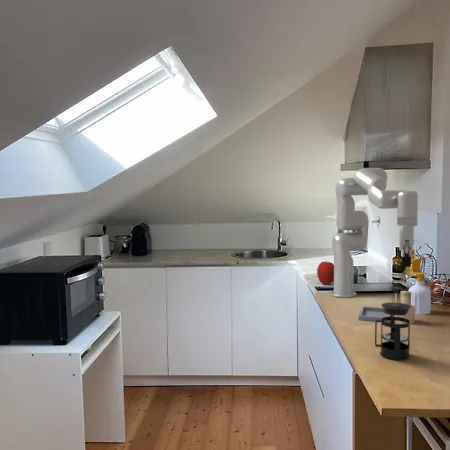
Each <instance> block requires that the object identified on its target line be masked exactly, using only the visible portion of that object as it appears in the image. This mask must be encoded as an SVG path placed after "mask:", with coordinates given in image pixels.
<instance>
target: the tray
mask: <svg viewBox="0 0 450 450" xmlns="http://www.w3.org/2000/svg"><path fill="white" fill-rule="evenodd" d="M390 316H391V315H389V314H386V313H384V312H383V307H374V306H364V305H363V306H361V308H360V311H359V314H358V319H357V321H363V322H364V321H365V322H374V323H375V320H381V319H382V318H383V317H390ZM384 322H387V323H390V322H391V320H388V321H384Z"/></svg>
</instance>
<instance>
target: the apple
mask: <svg viewBox="0 0 450 450" xmlns="http://www.w3.org/2000/svg"><path fill="white" fill-rule="evenodd" d="M316 273H317V275H316V276H317V278H318V281H319V283H321V284H322V285H331V284H332V283H334V262H330V261H327V259H326V260H325V261H321V262H320V263H319V264H318V266H317V268H316Z"/></svg>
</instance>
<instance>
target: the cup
mask: <svg viewBox="0 0 450 450" xmlns="http://www.w3.org/2000/svg"><path fill="white" fill-rule="evenodd" d="M415 315H416V314H415V306H413V305H411V308H410V309H409V310H408V312H407V314H406V315H396V317H402V318H406V319H408V320H410V325H413V324H415V321H416V319H415V317H416V316H415ZM396 323H397V324H406V322H402V321H396Z"/></svg>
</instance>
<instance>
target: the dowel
mask: <svg viewBox="0 0 450 450" xmlns="http://www.w3.org/2000/svg"><path fill="white" fill-rule="evenodd" d="M399 300H400V302H399V303H403V304H407V305H409V306H410V308H411V292H409V291H408V290H400V297H399Z"/></svg>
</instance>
